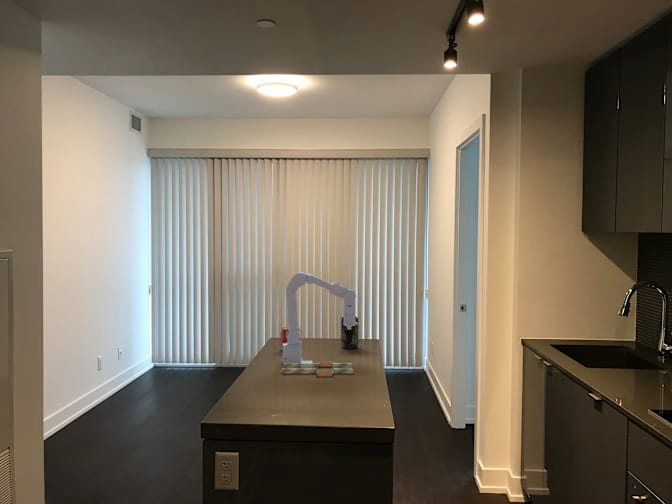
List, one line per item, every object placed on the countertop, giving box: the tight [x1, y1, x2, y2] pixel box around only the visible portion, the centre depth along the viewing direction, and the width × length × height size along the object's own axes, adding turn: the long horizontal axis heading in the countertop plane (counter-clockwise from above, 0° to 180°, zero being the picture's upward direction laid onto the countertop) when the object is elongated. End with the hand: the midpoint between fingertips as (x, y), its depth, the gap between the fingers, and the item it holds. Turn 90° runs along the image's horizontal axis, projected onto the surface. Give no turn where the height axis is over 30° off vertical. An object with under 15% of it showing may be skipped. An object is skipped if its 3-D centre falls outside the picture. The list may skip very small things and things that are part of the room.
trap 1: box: [317, 361, 334, 368], centre depth 235 cm, size 7×4×2 cm, turn 90°
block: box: [301, 360, 314, 368], centre depth 227 cm, size 5×5×4 cm
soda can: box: [279, 326, 289, 351], centre depth 267 cm, size 7×7×12 cm
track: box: [281, 362, 354, 375], centre depth 227 cm, size 32×10×2 cm, turn 90°
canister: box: [340, 316, 359, 349], centre depth 272 cm, size 10×10×18 cm
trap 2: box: [316, 369, 334, 378], centre depth 219 cm, size 7×4×2 cm, turn 90°
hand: (349, 341), depth 242 cm, fingers open, 7 cm apart
